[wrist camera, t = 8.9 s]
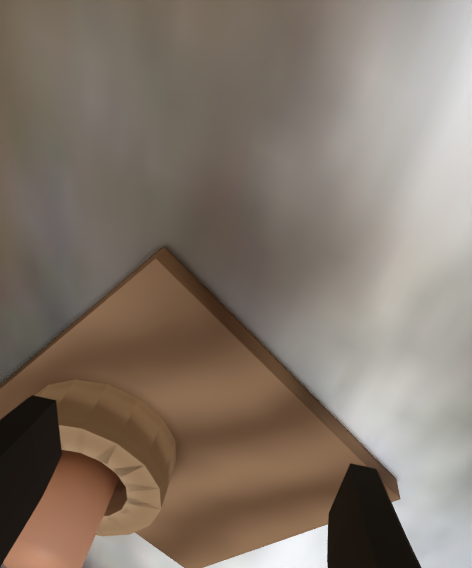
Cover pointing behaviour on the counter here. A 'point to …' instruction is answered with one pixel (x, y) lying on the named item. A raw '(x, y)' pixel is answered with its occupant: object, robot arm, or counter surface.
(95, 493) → the peg
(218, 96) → the counter surface
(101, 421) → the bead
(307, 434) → the board
